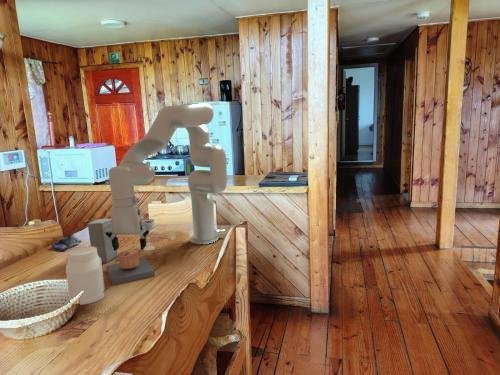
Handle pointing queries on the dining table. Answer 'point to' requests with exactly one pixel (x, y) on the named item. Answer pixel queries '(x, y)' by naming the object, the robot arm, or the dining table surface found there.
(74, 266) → the jar
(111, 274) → the post stand
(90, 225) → the skincare box
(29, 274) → the dining table surface
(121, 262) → the orange dial knob
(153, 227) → the wineglass
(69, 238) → the snack package
